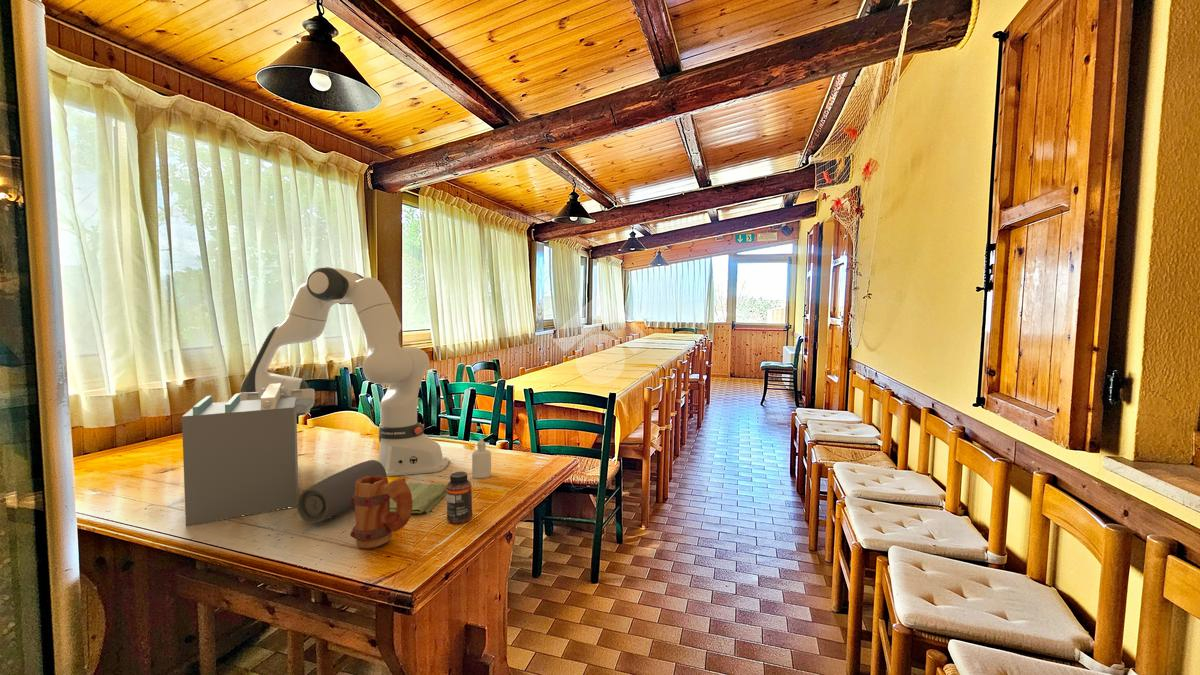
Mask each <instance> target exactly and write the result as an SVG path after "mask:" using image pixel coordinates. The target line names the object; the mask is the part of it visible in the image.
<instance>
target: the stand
mask: <svg viewBox="0 0 1200 675" xmlns="http://www.w3.org/2000/svg"><path fill="white" fill-rule="evenodd" d="M297 418H298V416H297V412H296V397H289V398H280V399H279V401H278V404H277V406H276V409H268V410H261V400H247V401H240V394H237V393H235V394H233V395H232V397H231V398H230V399H229V400H228V401H222V402H219V401H218V402H213V395H206V396H205V397H204V398H203V399H201V400H200V401H198V402H197V403H196V404H195V405H194V406H193V407H192V408H190V410H188V411H187V412H185V413H184V414H183V415H181V425H182V426H181V430H182V431H181V432H182V434H181V435H182V456H183V458H182V460H183V461H182V462H183V486H184V487H183V488H184V507H185V508H184V510H185V527H188V526H195V525H200V523H201V524H206V522H207V523H212V522H211V521H213V522H217V521H216V520H219V521H222V520H221V519H225V520H227V519H226V518H230V519H233V518H232V517H236V518H238V517H237V516H242V515H248V516H251V515H250V514H254V515H259V514H258V513H260V514H263V513H262V512H266V513H268V512H267V511H271V512H273V511H272V510H277V509H283V508H288V507H295V508H297V507H296V506H297V501H298V496H297V495H299V461H298V455H299V454H298V424H297V423H298V422H297V421H298V420H297ZM283 510H284V509H283ZM277 511H278V510H277ZM242 517H243V516H242Z"/></svg>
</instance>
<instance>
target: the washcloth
mask: <svg viewBox="0 0 1200 675" xmlns="http://www.w3.org/2000/svg"><path fill="white" fill-rule="evenodd" d="M406 484H407V485H408V487H409V489H410V491H411V495H412V501H413V503H412V512H411V514H423V515H428V514H429V513H430V512H432V510H433V509H434V508H435V507H436V506H437V505H438V504H439V502H440V501H441V500H443V498H444V497H445V496H446V487H447V484H445V483H441V484H440V483H423V482H415V481H414V482H413V481H410V482H406ZM396 504H397V503H396V502H395V501H394V500H393V499H392V498H390V512H391V513H393V514H395V512H396Z"/></svg>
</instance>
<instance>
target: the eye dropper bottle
mask: <svg viewBox="0 0 1200 675" xmlns="http://www.w3.org/2000/svg"><path fill="white" fill-rule="evenodd" d="M486 444H487V442H486V441H484V439H483V437H480V438H479V441H478V442H477V449H476V450H474V451H473V452H472V454H471V459H472V460H471V461H472V462H471V467H472V468H471V470H472V472H471V473H472V478H473V479H486V478H491V476H492V453H491V450H488V449H486Z"/></svg>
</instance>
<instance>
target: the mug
mask: <svg viewBox="0 0 1200 675" xmlns="http://www.w3.org/2000/svg"><path fill="white" fill-rule="evenodd" d="M390 498H392V499H393V500H394V501H395V502H396V503H397V504H396V512H395V513H391V512H390ZM350 502H351V503H353V504H355V508H354V513H355V525H354V526H353V528H352V531H351V532H350V533H349V534H350V537H351V538H353V539H354V540H355V542H356V544H357V546H358V547H359V548H361V549H373V548H377V547H380V546H383V545H384V544H386V543H388V542H389V541H390V540H392V538H393V533H395V532H397V531H400V530H401V529H403V528H404V526H406V524H408V522H409V520H410V519H411V516H412V513H411V512H412V503H413V501H412V495H411V491H410V489H409V487H408V485H407V482H406V480H405V479H403V478H402V477H401V478H400V477H399V478H396V479H393V480H391V481H389V479H388V476H387V477H384V476H376V477H374V476H366V477H362V478H361V479H357V481H356V483H355V493H354V494H353V497H352V498H351V499H350Z"/></svg>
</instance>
